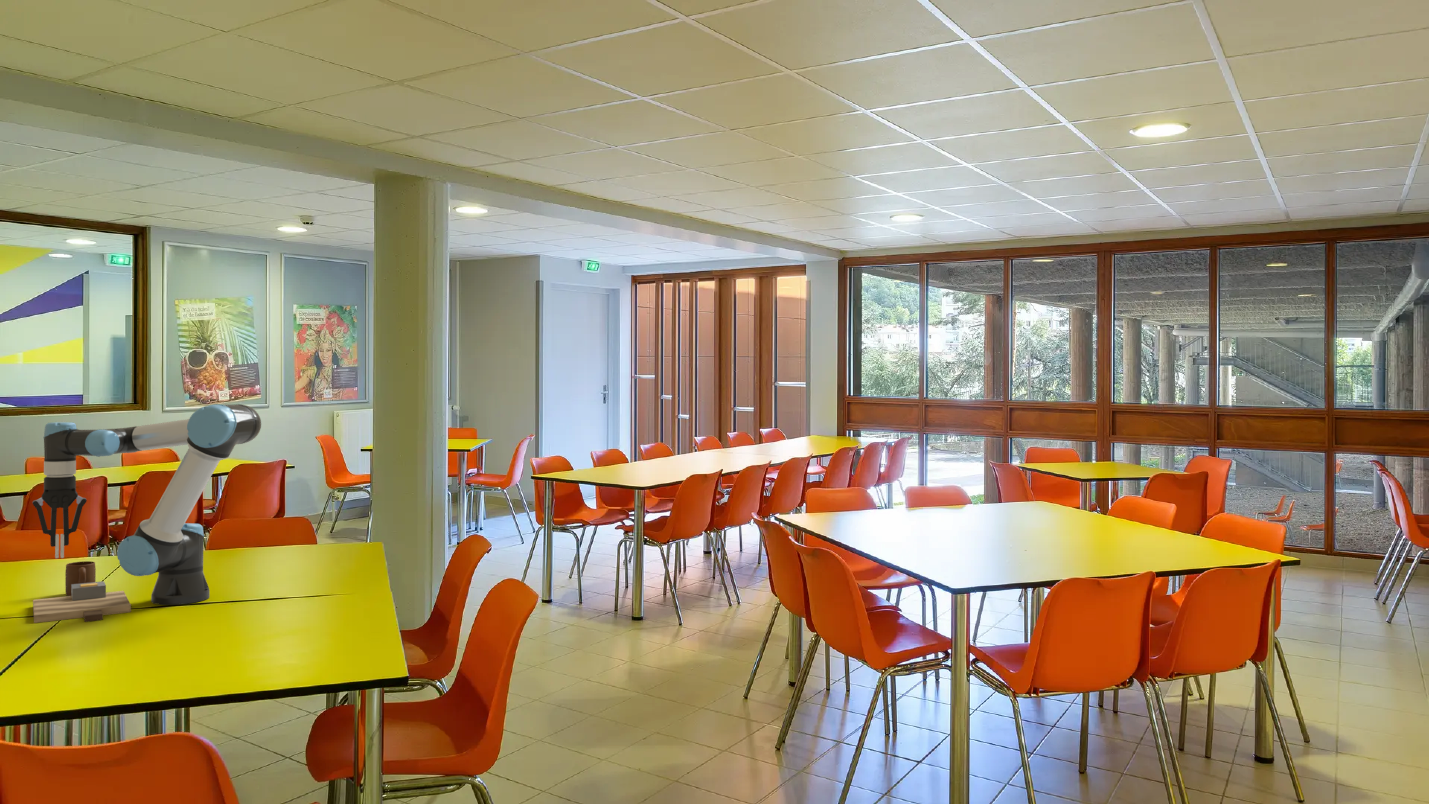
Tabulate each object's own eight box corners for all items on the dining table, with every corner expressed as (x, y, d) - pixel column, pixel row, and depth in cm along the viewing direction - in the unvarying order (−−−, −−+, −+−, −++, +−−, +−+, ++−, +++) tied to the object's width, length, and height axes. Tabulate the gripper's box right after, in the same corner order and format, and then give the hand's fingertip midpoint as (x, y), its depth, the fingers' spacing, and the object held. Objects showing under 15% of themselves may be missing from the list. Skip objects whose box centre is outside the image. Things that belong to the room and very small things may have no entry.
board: (33, 606, 265) (33, 599, 265) (123, 597, 278) (123, 590, 278) (34, 627, 242) (34, 620, 242) (132, 616, 256) (132, 609, 256)
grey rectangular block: (71, 596, 270) (71, 583, 270) (104, 592, 275) (104, 579, 275) (72, 600, 264) (72, 587, 264) (105, 597, 269) (105, 584, 269)
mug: (97, 597, 278) (98, 566, 277) (67, 600, 273) (67, 569, 273) (94, 590, 287) (94, 560, 287) (64, 593, 282) (64, 562, 282)
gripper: (87, 473, 272) (87, 553, 272) (30, 475, 264) (30, 557, 264) (89, 475, 266) (88, 557, 266) (30, 477, 258) (30, 561, 258)
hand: (59, 557), depth 265 cm, fingers closed
